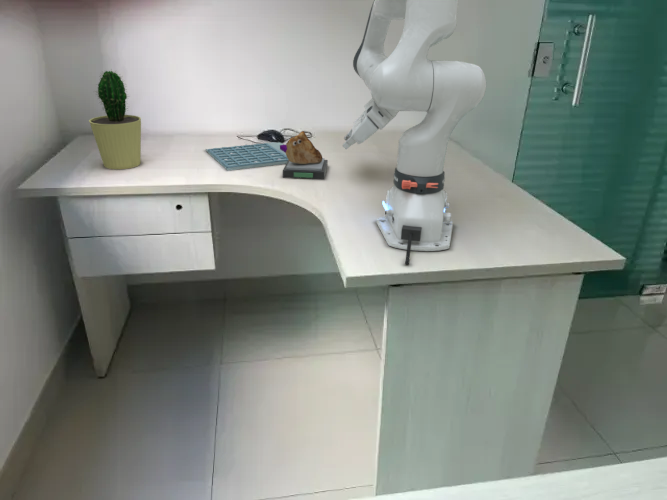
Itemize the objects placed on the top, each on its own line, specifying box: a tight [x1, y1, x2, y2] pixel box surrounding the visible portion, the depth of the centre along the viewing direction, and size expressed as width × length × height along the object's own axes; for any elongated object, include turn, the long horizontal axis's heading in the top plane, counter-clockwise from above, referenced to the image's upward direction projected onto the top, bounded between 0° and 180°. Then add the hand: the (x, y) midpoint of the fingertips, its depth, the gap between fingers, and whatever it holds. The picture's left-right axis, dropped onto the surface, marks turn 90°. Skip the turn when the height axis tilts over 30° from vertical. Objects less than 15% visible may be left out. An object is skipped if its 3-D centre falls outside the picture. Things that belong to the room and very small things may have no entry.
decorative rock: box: [285, 130, 324, 164], centre depth 165 cm, size 12×6×11 cm, turn 117°
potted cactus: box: [88, 68, 142, 170], centre depth 166 cm, size 15×15×30 cm
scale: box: [282, 157, 329, 180], centre depth 169 cm, size 14×13×3 cm
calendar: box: [205, 141, 289, 171], centre depth 185 cm, size 27×29×2 cm
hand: (344, 143), depth 165 cm, fingers open, 8 cm apart
